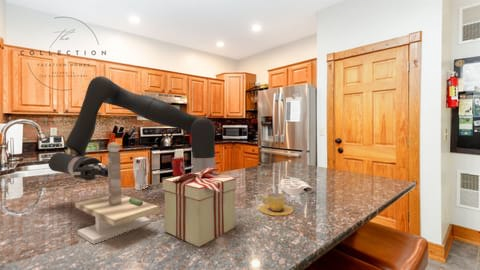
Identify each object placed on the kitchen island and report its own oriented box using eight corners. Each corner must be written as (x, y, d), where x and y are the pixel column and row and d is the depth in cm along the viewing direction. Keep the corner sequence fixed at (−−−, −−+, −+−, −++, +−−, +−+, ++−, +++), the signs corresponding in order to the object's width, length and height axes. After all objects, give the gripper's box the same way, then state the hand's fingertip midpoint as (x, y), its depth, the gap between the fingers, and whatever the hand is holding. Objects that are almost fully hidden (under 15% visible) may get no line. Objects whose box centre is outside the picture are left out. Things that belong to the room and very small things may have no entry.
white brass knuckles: (315, 195, 100) (281, 196, 100) (303, 185, 118) (274, 185, 118) (315, 187, 100) (281, 188, 100) (303, 178, 118) (274, 179, 118)
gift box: (212, 253, 55) (211, 180, 54) (159, 234, 64) (158, 172, 64) (248, 226, 69) (248, 168, 68) (201, 214, 79) (200, 163, 78)
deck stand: (77, 234, 65) (77, 215, 65) (132, 216, 78) (132, 200, 78) (93, 244, 59) (93, 224, 59) (150, 223, 72) (149, 206, 72)
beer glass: (136, 187, 116) (135, 157, 116) (150, 186, 117) (150, 156, 116) (131, 190, 109) (130, 159, 109) (146, 190, 110) (145, 158, 109)
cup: (294, 206, 86) (294, 192, 86) (291, 218, 75) (291, 201, 75) (262, 203, 90) (262, 189, 90) (255, 214, 79) (255, 198, 78)
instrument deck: (75, 206, 70) (73, 141, 70) (115, 196, 80) (114, 139, 79) (115, 226, 56) (112, 145, 56) (158, 211, 66) (156, 142, 65)
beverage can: (182, 189, 110) (182, 158, 110) (170, 189, 112) (169, 158, 111) (187, 186, 116) (187, 156, 116) (175, 186, 118) (175, 156, 117)
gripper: (61, 158, 74) (84, 163, 64) (105, 154, 84) (131, 158, 74) (61, 182, 74) (85, 190, 64) (105, 175, 85) (131, 181, 75)
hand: (109, 173), depth 69 cm, fingers closed
